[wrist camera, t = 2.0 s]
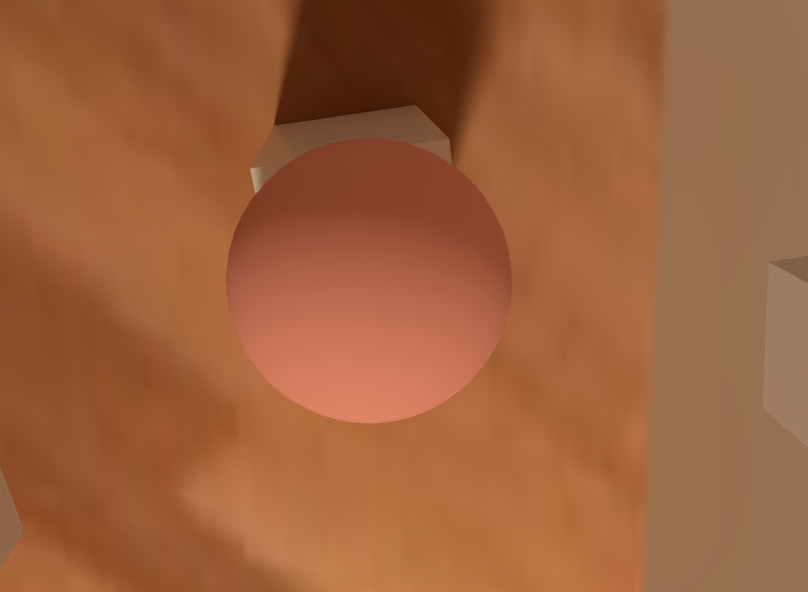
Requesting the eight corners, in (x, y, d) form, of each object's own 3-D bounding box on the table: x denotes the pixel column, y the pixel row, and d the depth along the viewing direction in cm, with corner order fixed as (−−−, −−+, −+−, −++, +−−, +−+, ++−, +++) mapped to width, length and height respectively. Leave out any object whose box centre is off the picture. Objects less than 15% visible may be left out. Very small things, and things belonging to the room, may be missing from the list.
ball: (219, 140, 19) (166, 197, 13) (469, 103, 19) (533, 141, 13) (269, 367, 21) (244, 505, 15) (491, 331, 21) (555, 453, 15)
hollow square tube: (273, 125, 26) (250, 168, 18) (415, 104, 26) (449, 138, 19) (299, 261, 28) (288, 350, 20) (432, 240, 28) (469, 321, 20)
